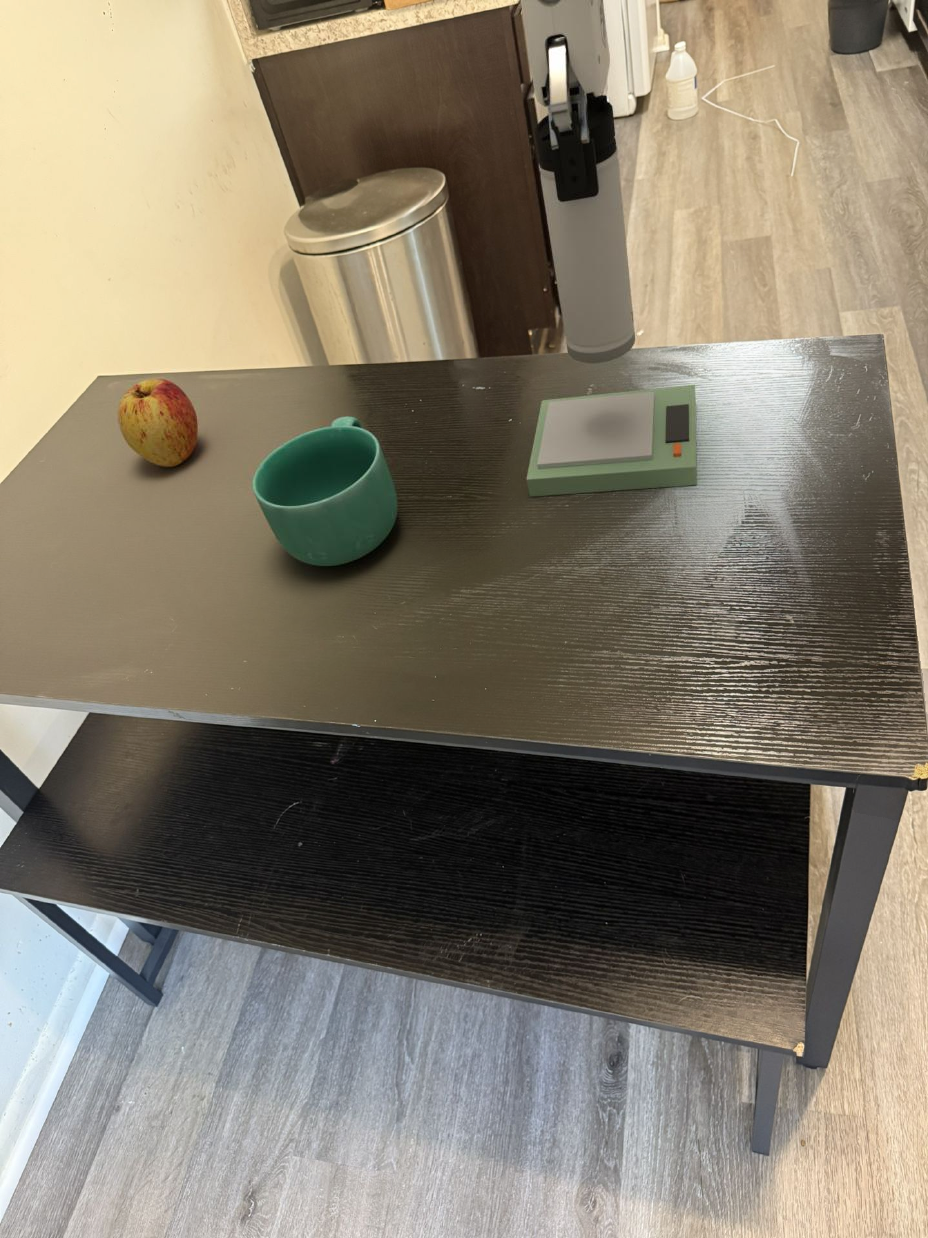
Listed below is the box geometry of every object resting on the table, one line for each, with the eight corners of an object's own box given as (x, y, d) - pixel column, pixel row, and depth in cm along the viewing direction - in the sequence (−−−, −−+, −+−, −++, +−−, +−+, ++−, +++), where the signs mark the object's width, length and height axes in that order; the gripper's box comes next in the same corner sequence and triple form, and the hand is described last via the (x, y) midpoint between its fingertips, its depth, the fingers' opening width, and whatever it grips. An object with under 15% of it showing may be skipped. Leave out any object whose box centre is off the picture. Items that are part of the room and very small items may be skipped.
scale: (695, 402, 91) (694, 378, 89) (697, 485, 81) (695, 460, 79) (544, 417, 95) (540, 395, 93) (529, 497, 86) (524, 474, 84)
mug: (382, 585, 81) (351, 506, 75) (267, 582, 85) (228, 507, 79) (433, 477, 92) (410, 399, 85) (329, 478, 96) (299, 405, 90)
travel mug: (651, 333, 80) (632, 93, 66) (608, 370, 77) (579, 127, 63) (596, 322, 84) (567, 93, 70) (554, 357, 81) (515, 125, 67)
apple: (221, 456, 105) (184, 383, 98) (151, 489, 103) (109, 417, 96) (201, 427, 111) (165, 357, 104) (135, 458, 109) (95, 388, 102)
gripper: (595, -93, 51) (624, 216, 63) (611, -133, 63) (633, 135, 75) (472, -61, 53) (523, 232, 65) (510, -105, 65) (547, 150, 77)
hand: (582, 178), depth 70 cm, fingers closed on travel mug, 6 cm apart
